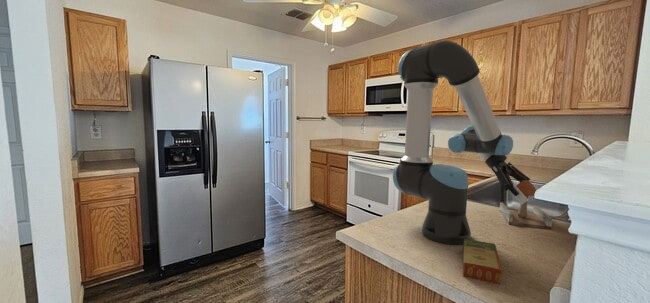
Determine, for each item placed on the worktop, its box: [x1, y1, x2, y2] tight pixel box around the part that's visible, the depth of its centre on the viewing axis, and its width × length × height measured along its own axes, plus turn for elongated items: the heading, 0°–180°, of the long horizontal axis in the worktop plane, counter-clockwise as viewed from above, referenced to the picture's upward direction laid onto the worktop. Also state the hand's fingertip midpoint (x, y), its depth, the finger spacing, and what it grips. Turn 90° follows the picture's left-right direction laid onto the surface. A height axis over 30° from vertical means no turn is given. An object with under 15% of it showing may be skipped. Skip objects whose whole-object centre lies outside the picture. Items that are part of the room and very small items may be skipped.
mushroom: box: [515, 180, 537, 218], centre depth 109 cm, size 8×8×15 cm
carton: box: [462, 239, 503, 285], centre depth 75 cm, size 8×16×4 cm, turn 154°
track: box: [498, 201, 553, 230], centre depth 110 cm, size 13×16×4 cm
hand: (531, 199), depth 107 cm, fingers open, 13 cm apart
